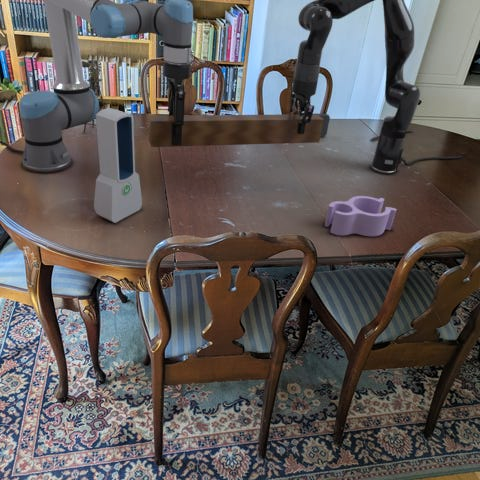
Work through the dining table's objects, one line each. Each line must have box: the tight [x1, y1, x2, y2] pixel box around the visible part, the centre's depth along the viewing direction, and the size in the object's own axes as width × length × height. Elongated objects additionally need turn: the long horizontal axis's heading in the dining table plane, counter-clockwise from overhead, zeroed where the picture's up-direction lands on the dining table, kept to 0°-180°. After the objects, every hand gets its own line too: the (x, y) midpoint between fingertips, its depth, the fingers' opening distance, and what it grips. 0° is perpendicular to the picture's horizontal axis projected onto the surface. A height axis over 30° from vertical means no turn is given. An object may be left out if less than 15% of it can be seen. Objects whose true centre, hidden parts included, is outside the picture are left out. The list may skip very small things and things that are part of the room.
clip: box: [324, 195, 398, 237], centre depth 141 cm, size 20×12×7 cm, turn 109°
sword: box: [371, 131, 411, 142], centre depth 217 cm, size 31×3×1 cm, turn 126°
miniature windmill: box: [81, 53, 107, 133], centre depth 181 cm, size 9×8×30 cm
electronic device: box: [93, 107, 143, 224], centre depth 129 cm, size 12×8×30 cm, turn 148°
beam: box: [148, 113, 324, 148], centre depth 146 cm, size 55×5×8 cm, turn 107°
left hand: (174, 141), depth 142 cm, fingers closed on beam, 5 cm apart
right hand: (297, 130), depth 152 cm, fingers closed on beam, 5 cm apart
